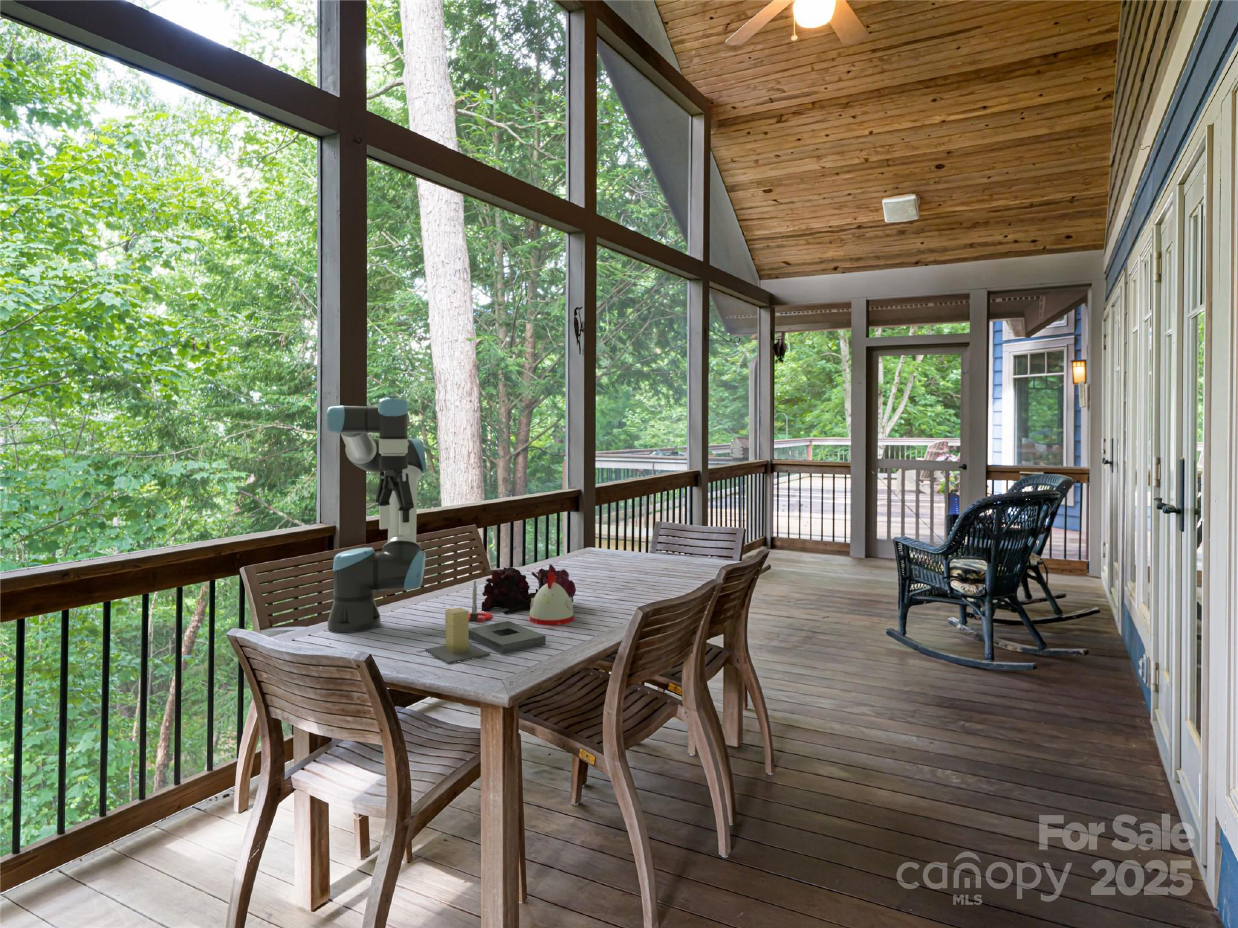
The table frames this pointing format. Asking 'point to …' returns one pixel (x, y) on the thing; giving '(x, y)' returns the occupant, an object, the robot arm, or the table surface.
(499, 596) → the flower arrangement
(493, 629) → the socket plate
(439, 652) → the rubber mat
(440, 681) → the table surface
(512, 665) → the table surface
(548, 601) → the kitchen timer
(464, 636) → the brass plug
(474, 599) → the tow hook
